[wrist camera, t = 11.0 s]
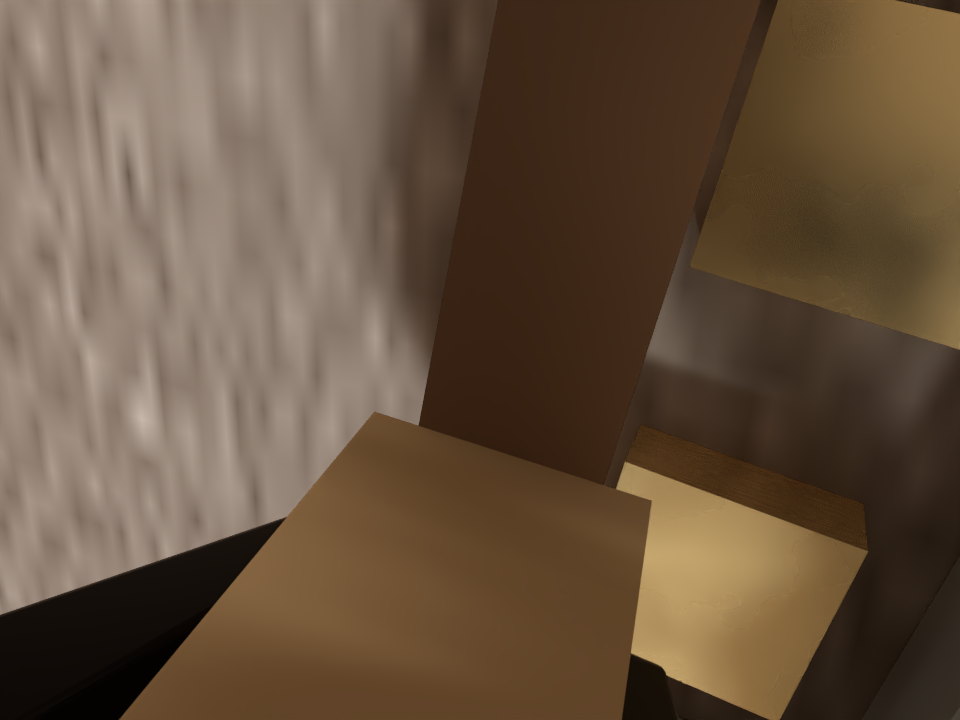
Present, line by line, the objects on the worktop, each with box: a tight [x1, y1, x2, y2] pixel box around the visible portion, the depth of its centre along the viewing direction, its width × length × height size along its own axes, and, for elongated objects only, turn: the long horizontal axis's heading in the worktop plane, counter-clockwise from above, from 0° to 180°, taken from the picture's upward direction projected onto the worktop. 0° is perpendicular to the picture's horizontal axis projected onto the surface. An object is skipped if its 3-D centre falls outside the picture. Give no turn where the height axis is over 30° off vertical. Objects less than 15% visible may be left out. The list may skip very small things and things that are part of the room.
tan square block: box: [616, 425, 868, 720], centre depth 17 cm, size 4×4×2 cm
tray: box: [678, 556, 960, 720], centre depth 14 cm, size 10×20×3 cm, turn 168°
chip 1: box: [689, 0, 960, 350], centre depth 13 cm, size 4×4×2 cm
